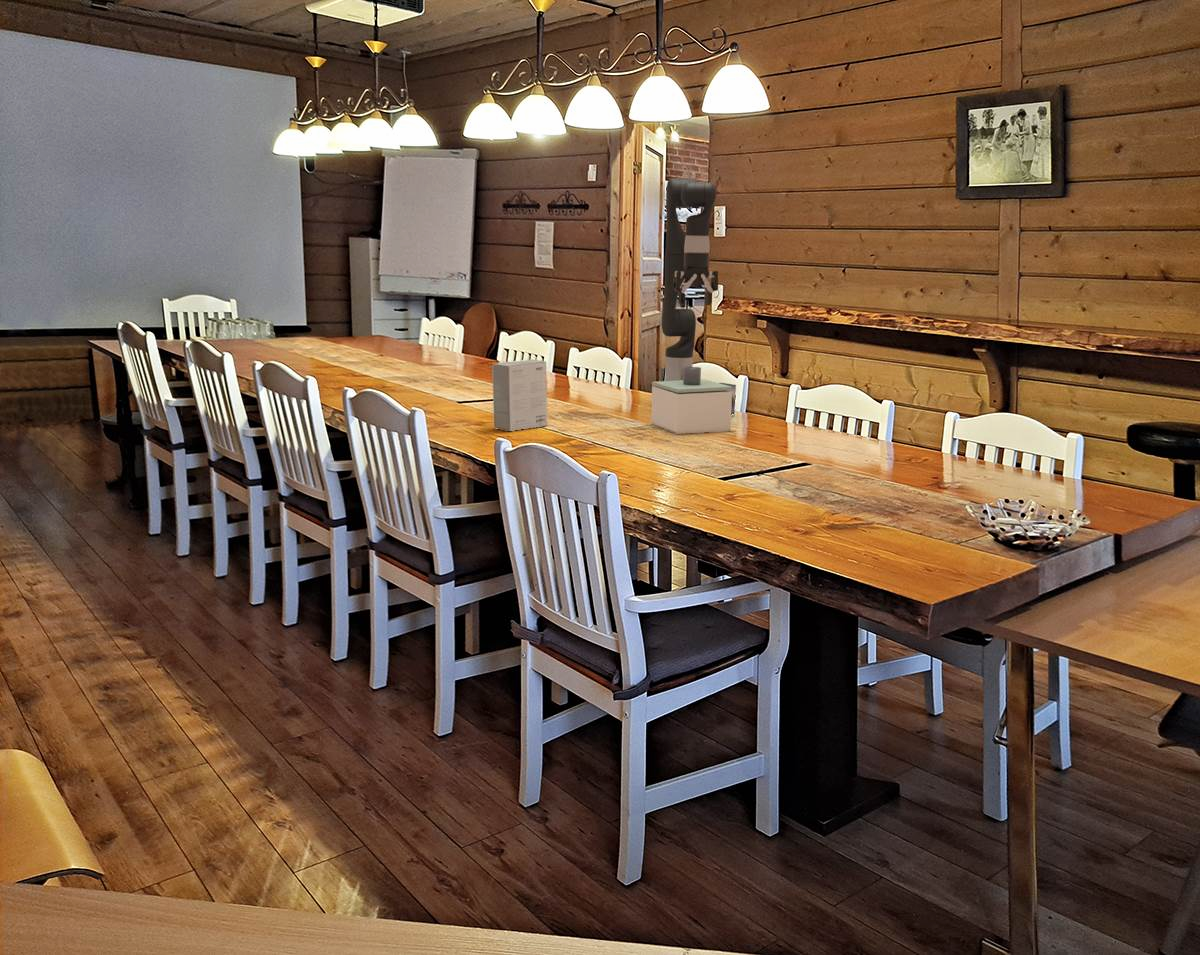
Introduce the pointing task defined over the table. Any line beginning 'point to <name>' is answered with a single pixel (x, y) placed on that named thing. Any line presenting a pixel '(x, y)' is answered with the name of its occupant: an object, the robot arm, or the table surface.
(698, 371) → the dark grey cylinder
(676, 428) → the storage box
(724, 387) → the lid
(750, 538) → the table surface
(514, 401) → the hard drive box
